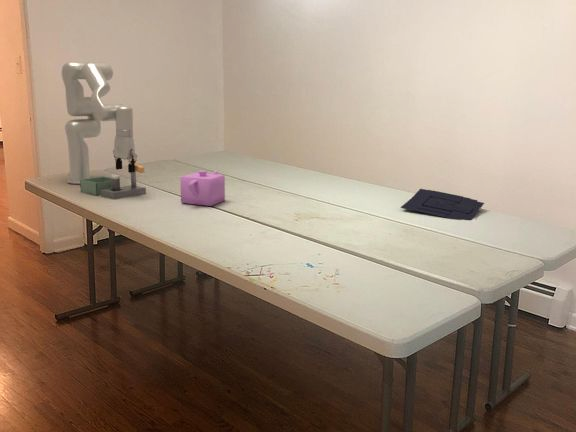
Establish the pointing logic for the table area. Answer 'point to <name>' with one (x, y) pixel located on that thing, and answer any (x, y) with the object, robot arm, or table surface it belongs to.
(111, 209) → the table surface
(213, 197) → the teapot
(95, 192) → the bin
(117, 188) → the plug
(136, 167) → the keeper arm
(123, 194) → the grey post stand
